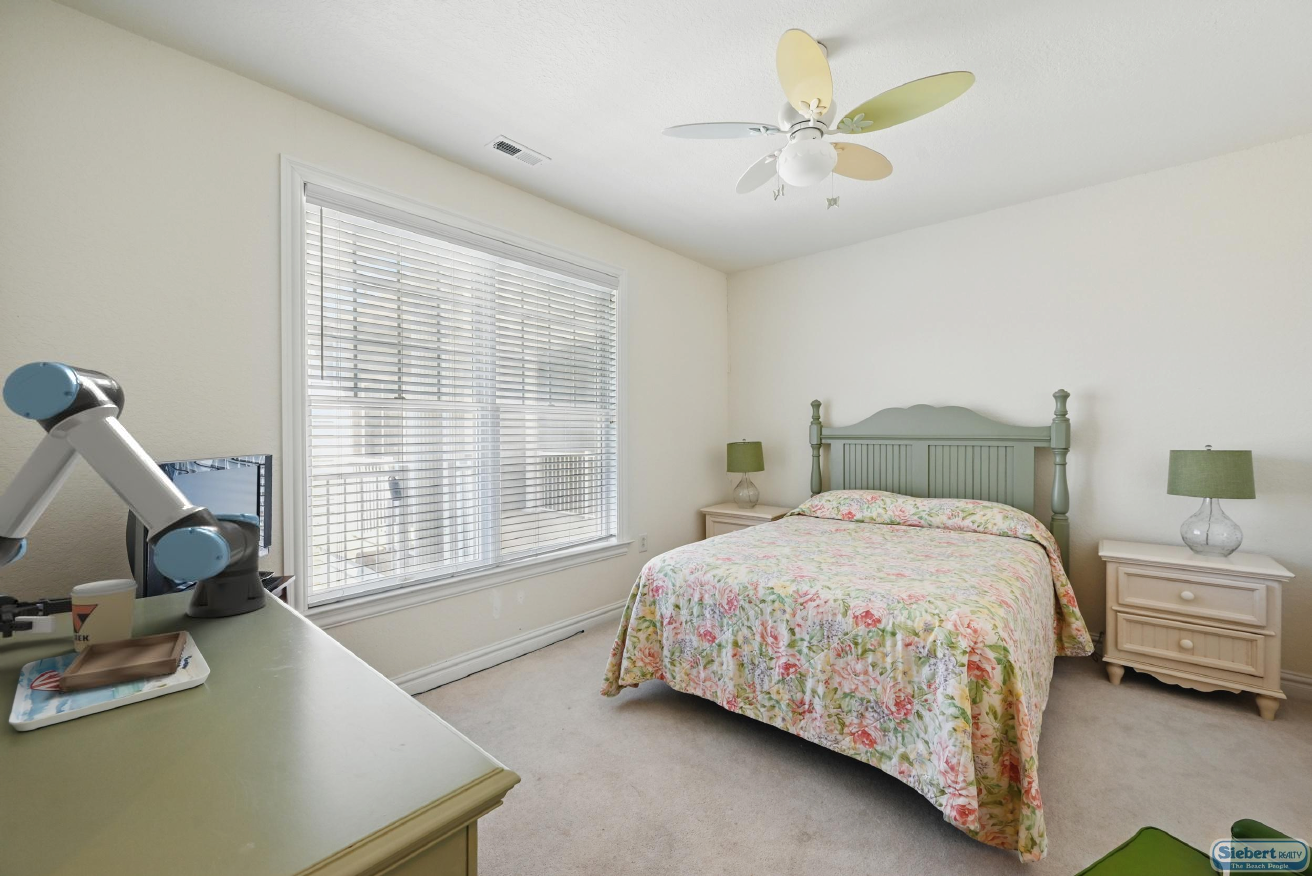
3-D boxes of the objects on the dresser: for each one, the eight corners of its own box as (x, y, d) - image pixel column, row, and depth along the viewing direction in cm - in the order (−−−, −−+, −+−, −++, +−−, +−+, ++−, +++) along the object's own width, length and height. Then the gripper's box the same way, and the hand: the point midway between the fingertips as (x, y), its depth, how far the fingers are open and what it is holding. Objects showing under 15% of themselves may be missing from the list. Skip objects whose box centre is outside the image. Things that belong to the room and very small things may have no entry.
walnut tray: (185, 643, 110) (186, 630, 110) (175, 672, 95) (176, 658, 95) (86, 658, 101) (86, 645, 101) (58, 693, 87) (59, 677, 87)
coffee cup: (60, 648, 106) (62, 586, 107) (124, 634, 115) (126, 576, 115) (79, 657, 102) (81, 592, 102) (144, 642, 110) (146, 581, 111)
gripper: (48, 614, 120) (147, 613, 121) (-108, 656, 95) (17, 656, 96) (49, 579, 120) (148, 579, 121) (-107, 613, 95) (19, 613, 96)
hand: (90, 613), depth 108 cm, fingers open, 13 cm apart
